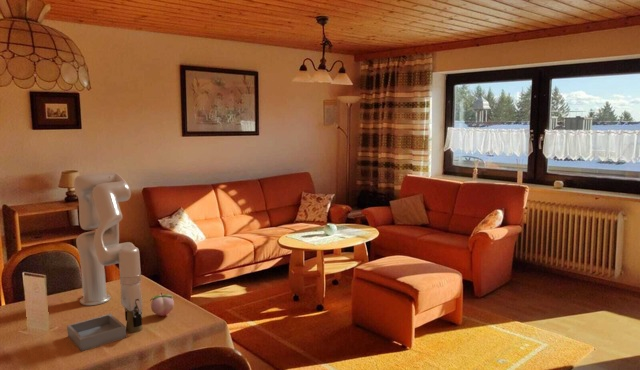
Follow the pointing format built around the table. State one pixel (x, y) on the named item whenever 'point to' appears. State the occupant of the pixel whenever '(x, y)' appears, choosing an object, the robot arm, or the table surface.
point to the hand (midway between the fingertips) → (133, 322)
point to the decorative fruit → (162, 304)
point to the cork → (131, 323)
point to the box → (96, 332)
